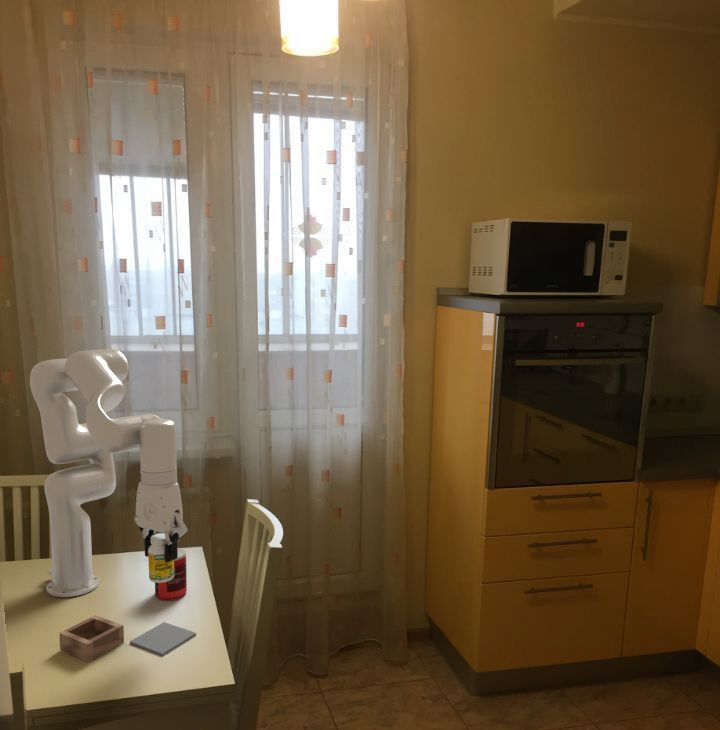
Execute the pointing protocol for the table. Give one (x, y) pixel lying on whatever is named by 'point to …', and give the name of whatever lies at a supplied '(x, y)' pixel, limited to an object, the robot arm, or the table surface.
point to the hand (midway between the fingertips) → (161, 556)
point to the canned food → (174, 580)
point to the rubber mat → (163, 638)
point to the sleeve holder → (88, 650)
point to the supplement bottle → (159, 560)
